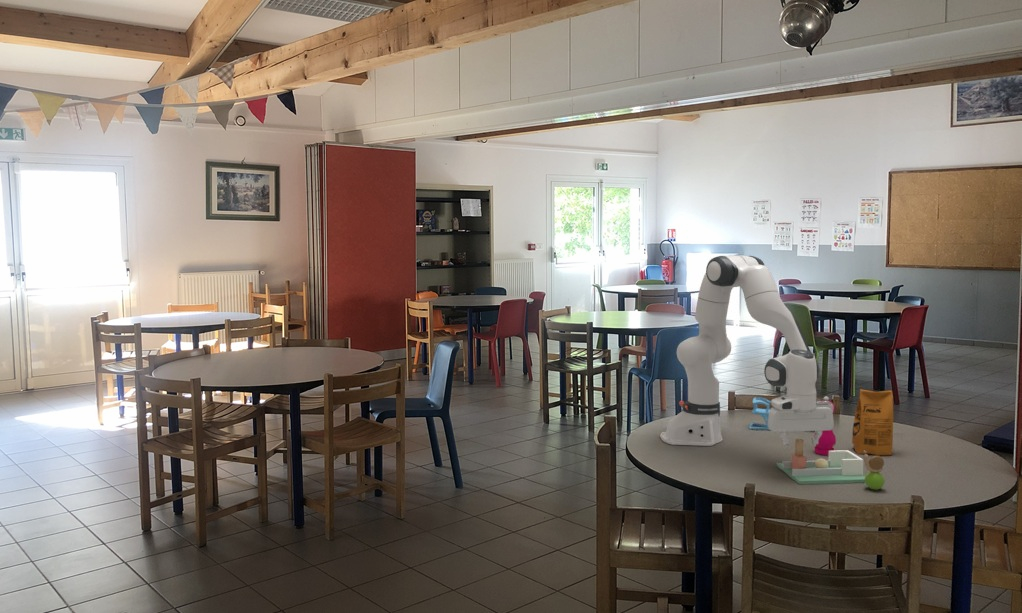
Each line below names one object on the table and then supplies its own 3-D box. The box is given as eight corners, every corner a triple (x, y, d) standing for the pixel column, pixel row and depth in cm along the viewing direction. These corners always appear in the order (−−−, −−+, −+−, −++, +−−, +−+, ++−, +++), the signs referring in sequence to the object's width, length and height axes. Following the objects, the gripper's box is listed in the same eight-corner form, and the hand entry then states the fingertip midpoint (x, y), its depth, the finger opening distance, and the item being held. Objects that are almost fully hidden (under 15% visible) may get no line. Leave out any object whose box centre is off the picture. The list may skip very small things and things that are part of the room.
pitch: (799, 484, 240) (799, 465, 239) (776, 465, 258) (777, 448, 257) (869, 482, 241) (869, 463, 240) (841, 464, 259) (842, 446, 258)
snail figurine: (857, 486, 237) (859, 448, 236) (877, 485, 238) (879, 447, 237) (867, 492, 232) (868, 453, 231) (887, 492, 233) (889, 452, 231)
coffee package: (850, 446, 279) (852, 386, 276) (888, 448, 276) (890, 387, 273) (855, 454, 269) (857, 392, 267) (894, 457, 266) (897, 393, 264)
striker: (797, 473, 246) (798, 442, 245) (791, 468, 251) (792, 437, 250) (805, 472, 246) (806, 442, 245) (799, 467, 251) (800, 437, 250)
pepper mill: (837, 456, 268) (839, 399, 265) (815, 455, 269) (817, 398, 267) (833, 450, 275) (835, 394, 272) (811, 449, 276) (813, 393, 274)
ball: (818, 473, 247) (818, 460, 247) (812, 468, 251) (813, 456, 251) (830, 472, 247) (830, 460, 247) (824, 468, 251) (825, 456, 251)
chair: (771, 431, 299) (771, 401, 297) (748, 429, 302) (749, 399, 301) (773, 426, 306) (774, 396, 304) (751, 424, 309) (752, 395, 308)
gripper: (828, 398, 250) (827, 440, 251) (766, 400, 249) (765, 442, 250) (838, 402, 244) (836, 446, 245) (773, 404, 243) (773, 448, 244)
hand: (800, 444), depth 248 cm, fingers open, 8 cm apart
